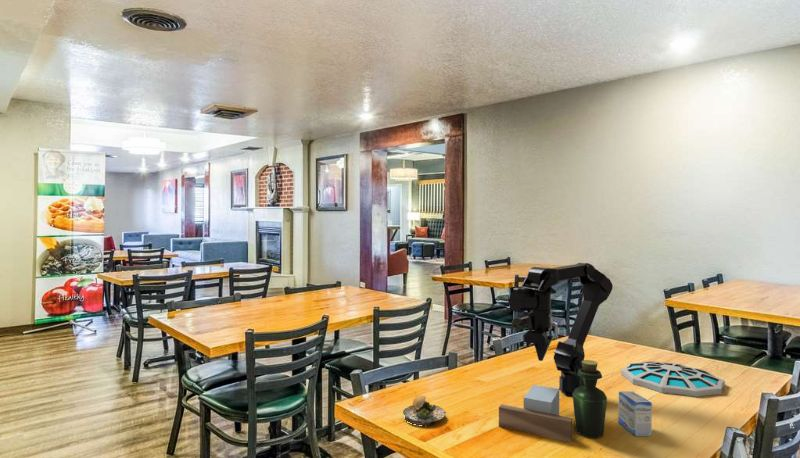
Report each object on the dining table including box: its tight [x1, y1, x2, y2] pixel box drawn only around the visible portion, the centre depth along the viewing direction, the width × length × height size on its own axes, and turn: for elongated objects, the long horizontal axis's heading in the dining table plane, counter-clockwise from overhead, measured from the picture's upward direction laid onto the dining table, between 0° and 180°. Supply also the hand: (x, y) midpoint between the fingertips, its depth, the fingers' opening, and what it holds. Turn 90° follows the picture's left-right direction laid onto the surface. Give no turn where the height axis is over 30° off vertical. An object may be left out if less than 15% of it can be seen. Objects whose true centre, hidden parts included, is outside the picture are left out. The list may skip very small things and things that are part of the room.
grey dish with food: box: [402, 392, 447, 427], centre depth 126 cm, size 12×12×8 cm
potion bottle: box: [572, 359, 608, 439], centre depth 116 cm, size 8×8×18 cm
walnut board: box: [498, 404, 574, 443], centre depth 117 cm, size 2×18×5 cm, turn 60°
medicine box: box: [617, 390, 653, 437], centre depth 118 cm, size 8×4×9 cm, turn 5°
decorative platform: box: [620, 360, 726, 398], centre depth 156 cm, size 31×29×5 cm
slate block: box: [523, 384, 560, 415], centre depth 122 cm, size 11×7×8 cm, turn 151°
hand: (540, 360), depth 138 cm, fingers closed
